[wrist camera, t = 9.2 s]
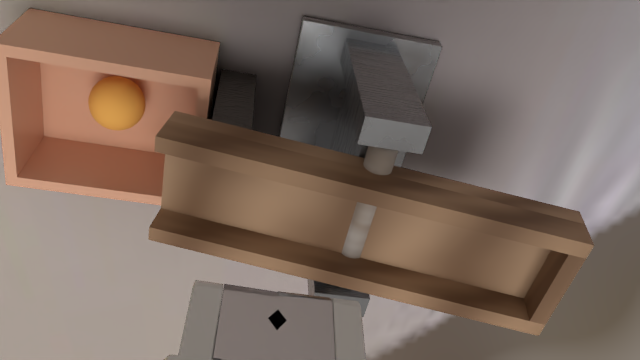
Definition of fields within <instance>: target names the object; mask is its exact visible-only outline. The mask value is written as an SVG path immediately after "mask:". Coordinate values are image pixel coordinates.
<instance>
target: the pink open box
mask: <svg viewBox="0 0 640 360" xmlns="http://www.w3.org/2000/svg"><path fill="white" fill-rule="evenodd" d="M219 48H220V42H215V41H210V40H204V39H199V38H193V37H188V36H182V35H176V34H171V33H165V32H160V31H154V30H149V29H143V28H137V27H132V26H126V25H121V24H115V23H110V22H104V21H99V20H93V19H87V18H82V17H76V16H71V15H65V14H60V13H54V12H48V11H43V10H37V9H32V8H29V9H28V10H27V11H26V12H25V13H24V14H22V15H21V16H20V17H19V18H18V19H17V20H16V21H15V22H14V23H13V24H12V25H10V26H9V27H8V28H7V29H6V30H5V31H4V32H3V33H2V34H1V35H0V130H1V140H2V150H3V160H4V170H5V179H6V185H12V186H19V187H27V188H34V189H42V190H50V191H57V192H65V193H72V194H80V195H87V196H95V197H102V198H110V199H117V200H125V201H132V202H140V203H147V204H155V205H161V201H162V188H163V175H164V162H165V154H163V153H159V152H155V151H154V150H155V136H156V135H157V133H158V132H159V131H160V130H161V128H162V127H163V126H164V124H165V123H166V122H167V120H168V119H169V118H170V116H171V115H172V114H173V113H174V111H178V112H182V113H186V114H190V115H194V116H198V117H202V118H206V119H210V120H211V113H212V104H213V96H214V88H215V80H216V72H217V64H218V56H219ZM111 76H120V77H125V78H127V79H129V80H131V81H133V82H134V83H135V84H137V85H138V86H139V88H140V89H141V91H142V92H143V95H144V98H145V111H144V114H143V116H142V118H141V119H140V121H139V122H138V123H137V124H136V125H134V126H133V127H131V128H129V129H125V130H111V129H107V128H105V127H103V126H101V125H100V124H99V123H98V122H97V121H96V120H95V119H94V118H93V116H92V115H91V112H90V110H89V104H88V99H89V95H90V92H91V90H92V88H93V87H94V86H95V85H96V84H97V83H98V82H99V81H100V80H102V79H104V78H107V77H111Z"/></svg>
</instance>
